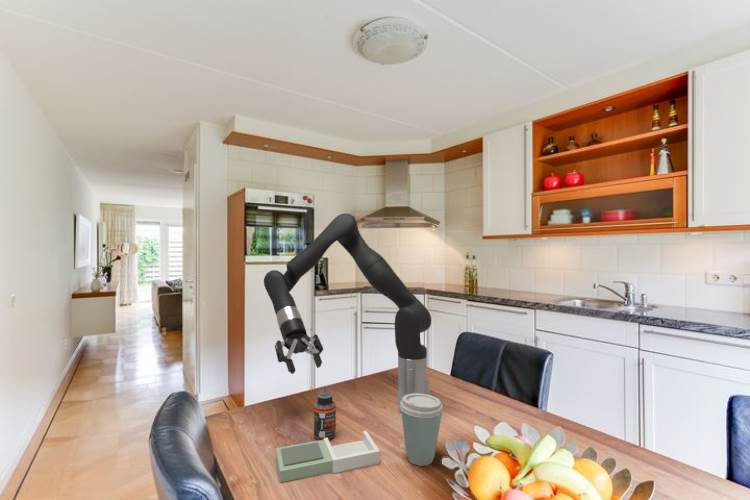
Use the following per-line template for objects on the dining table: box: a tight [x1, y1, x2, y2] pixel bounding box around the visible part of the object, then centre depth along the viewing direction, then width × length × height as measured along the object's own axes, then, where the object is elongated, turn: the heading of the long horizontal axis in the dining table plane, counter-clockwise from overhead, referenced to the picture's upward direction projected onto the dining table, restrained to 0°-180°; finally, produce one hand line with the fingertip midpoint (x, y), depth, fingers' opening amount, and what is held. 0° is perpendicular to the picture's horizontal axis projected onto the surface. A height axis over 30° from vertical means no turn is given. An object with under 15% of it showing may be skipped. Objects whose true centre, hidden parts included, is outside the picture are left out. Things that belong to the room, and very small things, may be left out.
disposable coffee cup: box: [399, 393, 444, 467], centre depth 90 cm, size 11×11×15 cm
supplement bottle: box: [313, 392, 337, 441], centre depth 101 cm, size 6×6×11 cm
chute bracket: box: [324, 430, 381, 474], centre depth 91 cm, size 12×10×3 cm
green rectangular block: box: [275, 440, 333, 484], centre depth 88 cm, size 12×10×3 cm
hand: (306, 369), depth 110 cm, fingers open, 8 cm apart
